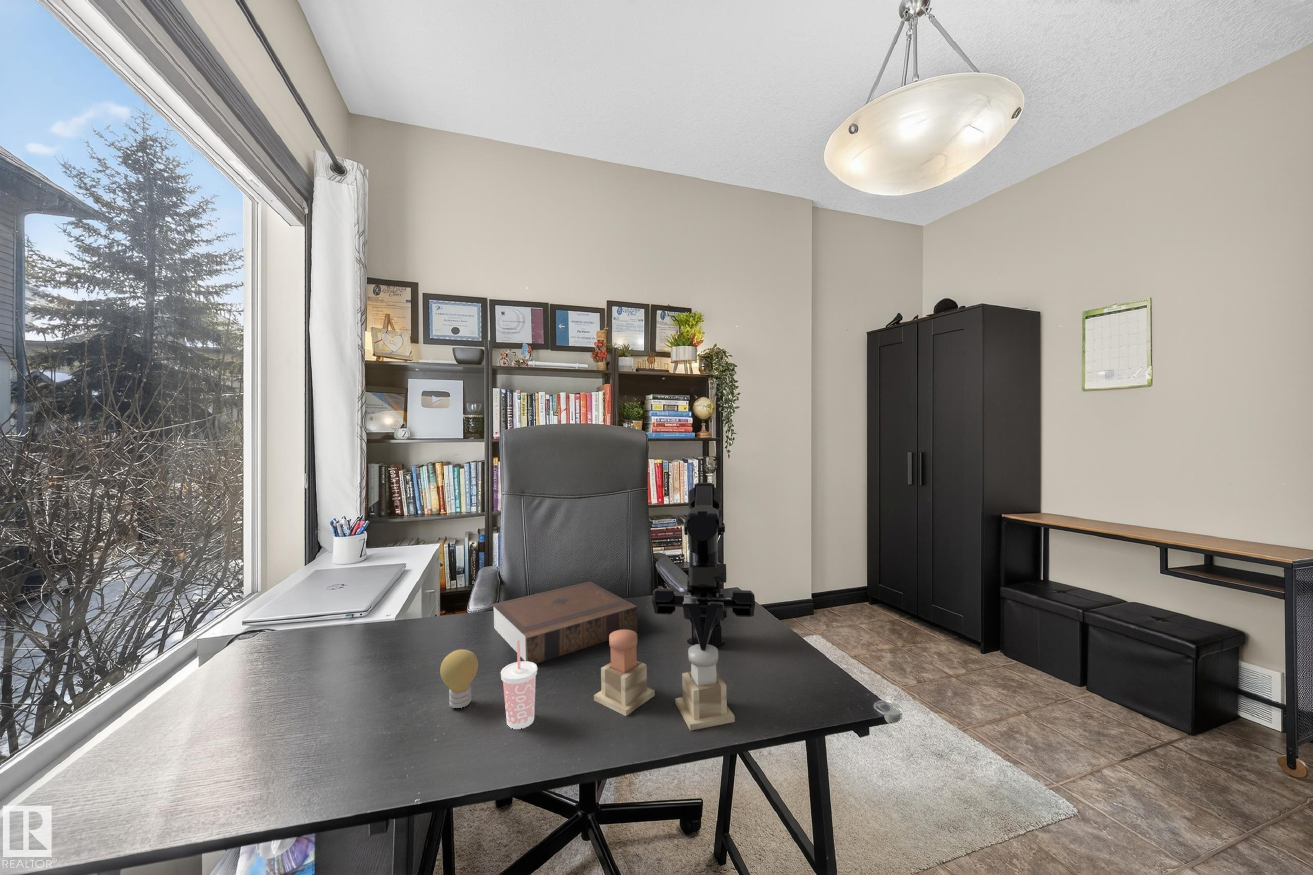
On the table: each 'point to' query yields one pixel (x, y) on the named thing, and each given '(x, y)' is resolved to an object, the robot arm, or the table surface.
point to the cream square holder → (624, 689)
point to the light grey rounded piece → (703, 664)
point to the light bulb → (459, 676)
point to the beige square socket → (704, 703)
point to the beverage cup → (519, 692)
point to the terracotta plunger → (623, 650)
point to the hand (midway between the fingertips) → (703, 649)
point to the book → (562, 620)
